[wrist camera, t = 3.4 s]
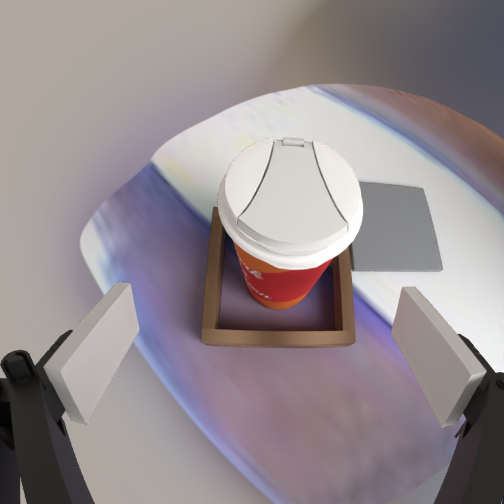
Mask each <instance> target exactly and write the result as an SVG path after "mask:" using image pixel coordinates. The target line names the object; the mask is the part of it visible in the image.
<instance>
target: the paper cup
mask: <svg viewBox="0 0 504 504" xmlns="http://www.w3.org/2000/svg"><path fill="white" fill-rule="evenodd" d="M217 204H218V212H219V216H220V219H221V222H222V224H223V226H224V228H225V230H226V232H227V233H228V235H229V236H230V237H231V238H232V240H233V242H234V245H235V248H236V252H237V255H238V258H239V262H240V265H241V268H242V272H243V275H244V278H245V281H246V284H247V286H248V289H249V291H250V293H251V295H252V296H253V298H254V299H255V300H256V301H257V302H258V303H260V304H261V305H263V306H265V307H267V308H270V309H276V310H281V309H287V308H290V307H292V306H294V305H296V304H298V303H299V302H300V301H301V300H302V299H303V298H304V297H305V296H306V295H307V293H308V292H309V291H310V290H311V288H312V287H313V286H314V284H315V283H316V282H317V280H318V279H319V278H320V276H321V275H322V273H323V272H324V271H325V269H326V268H327V266H328V265H329V264H330V262H331V261H332V259H333V258H334V257H335V256H337V255H339V254H340V253H341V252H342V251H344V250H345V249H346V248H347V247H348V246H349V245H350V244H351V242H352V241H353V240H354V238H355V237H356V235H357V233H358V231H359V229H360V226H361V223H362V217H363V202H362V198H361V190H360V186H359V182H358V179H357V177H356V175H355V172H354V171H353V169H352V168H351V166H350V165H349V163H348V162H347V161H346V160H345V159H344V158H343V157H342V156H341V155H340V154H339V153H337V152H336V151H335V150H333V149H332V148H330V147H328V146H326V145H324V144H322V143H320V142H318V141H315V140H313V141H312V144H311V142H304V140H303V139H295V138H283V140H275V142H273V137H272V138H267V139H264V140H261V141H258V142H256V143H254V144H252V145H250V146H249V147H247V148H246V149H244V150H243V151H242V152H241V153H240V154H239V155H238V156H237V157H236V158H235V159H234V160H233V162H232V163H231V165H230V166H229V169H228V171H227V173H226V175H225V176H224V178H223V180H222V182H221V185H220V188H219V192H218V203H217Z"/></svg>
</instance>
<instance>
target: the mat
mask: <svg viewBox="0 0 504 504" xmlns="http://www.w3.org/2000/svg"><path fill="white" fill-rule="evenodd" d="M359 186H360V190H361V198H362V202H363V217H362V223H361V226H360V229H359V231H358V233H357V235H356V237H355V238H354V240H353V241H352V242H351V244H350V246H351V256H352V266H353V271H441V270H443V267H442V262H441V257H440V252H439V247H438V243H437V238H436V234H435V230H434V226H433V222H432V218H431V215H430V211H429V207H428V204H427V200H426V197H425V193H424V190H423V188H417V187H408V186H399V185H389V184H378V183H366V182H359Z"/></svg>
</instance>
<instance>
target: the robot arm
mask: <svg viewBox="0 0 504 504" xmlns="http://www.w3.org/2000/svg"><path fill="white" fill-rule="evenodd" d="M139 331H140V330H139V325H138V320H137V315H136V310H135V305H134V299H133V294H132V288H131V283H120V282H117V283H116V284H115V285H114V286H113V287H112V288H111V289H110V290H109V291H108V293H107V294H106V295H105V296H104V297H103V298H102V299H101V300H100V301H99V302H98V303H97V305H96V306H95V307H94V308H93V309H92V310H91V311H90V312H89V314H88V315H87V316H86V317H85V318H84V319H83V320H82V322H81V323H80V324H79V325H78V326H77V327H76V328H75V330H69V331H68V332H66V333H64V334H63V335H61V336H60V337H59V339H58V340H57V341H56V342H55V344H53V345H52V346H51V348H50V350H48V351H47V352H46V353H45V355H44V356H43V357H42V358H41V359H40V361H39V362H38V363H37V364H36V365H34V363H33V361H32V359H31V357H30V354H29V353H28V352H26V351H24V350H17V351H13V352H10V353H9V354H7V355H6V356H5V357H4V358H3V359H2V361H1V364H0V366H1V368H2V370H3V372H4V373H5V375H6V377H7V378H6V379H5V378H0V504H20V477H21V481H22V486H23V490H24V494H25V498H26V502H27V504H95V503H94V501H93V499H92V497H91V495H90V492H89V490H88V488H87V485H86V483H85V480H84V478H83V475H82V473H81V470H80V468H79V465H78V463H77V459H76V457H75V454H74V451H73V448H72V445H71V442H70V439H69V436H68V433H67V429H66V426H65V422H64V420H63V419H62V415H63V413H64V412H65V411H66V412H67V414H68V416H69V418H70V419H71V420H72V421H75V422H78V423H82V424H85V425H87V424H88V422H89V420H90V418H91V416H92V414H93V413H94V411H95V409H96V407H97V405H98V403H99V401H100V399H101V398H102V396H103V394H104V392H105V390H106V389H107V387H108V385H109V383H110V381H111V379H112V378H113V376H114V374H115V372H116V371H117V369H118V367H119V365H120V363H121V362H122V360H123V358H124V356H125V355H126V353H127V351H128V350H129V348H130V346H131V344H132V343H133V341H134V339H135V338H136V336H137V334H138V332H139ZM391 335H392V337H393V339H394V340H395V342H396V344H397V345H398V347H399V349H400V351H401V352H402V354H403V356H404V358H405V360H406V361H407V363H408V365H409V367H410V368H411V370H412V372H413V374H414V376H415V378H416V379H417V381H418V383H419V385H420V387H421V389H422V391H423V393H424V395H425V396H426V398H427V400H428V402H429V404H430V406H431V408H432V410H433V412H434V414H435V416H436V418H437V420H438V422H439V424H440V426H441V428H443V427H446V426H450V425H453V424H456V423H457V422H458V420H459V419H460V417H461V415H462V414H464V416H465V417H466V420H465V422H464V423H463V425H462V426H461V428H460V429H459V431H458V432H457V434H456V435H455V438H457V437H458V435H459V434H460V436H459V439H458V442H457V446H456V449H455V452H454V455H453V457H452V460H451V463H450V466H449V468H448V471H447V474H446V476H445V479H444V481H443V484H442V486H441V489H440V491H439V493H438V495H437V497H436V500H435V502H434V504H501V502H502V498H503V502H502V504H504V373H502V372H498V373H495V371H494V370H493V369H492V368H491V366H490V365H489V364H488V362H487V361H486V360H485V359H484V357H483V356H482V355H481V354H479V351H478V350H477V349H476V348H475V347H474V345H473V344H472V343H471V342H470V341H469V340H468V339H467V338H465V337H464V336H463V335H461V334H457V333H456V332H455V331H454V330H453V329H452V327H451V326H450V325H449V324H448V323H447V322H446V320H445V319H444V318H443V317H442V316H441V315H440V314H439V312H438V311H437V310H436V309H435V308H434V307H433V306H432V305H431V303H430V302H429V301H428V300H427V299H426V298H425V297H424V296H423V295H422V294H421V292H420V291H419V290H418V289H417V288H416V287H402V290H401V295H400V299H399V304H398V308H397V312H396V316H395V320H394V324H393V327H392V331H391Z"/></svg>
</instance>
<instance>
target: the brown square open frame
mask: <svg viewBox="0 0 504 504" xmlns="http://www.w3.org/2000/svg"><path fill="white" fill-rule="evenodd" d="M225 237H226V230H225V228H224V226H223V224H222V222H221V219H220V216H219V212H218V207H213V214H212V223H211V232H210V242H209V251H208V261H207V272H206V282H205V294H204V305H203V318H202V331H201V341H202V342H203V343H204V344H205V345H214V346H233V347H262V348H325V347H347V346H350V345H352V344H354V343H355V321H354V303H353V289H352V276H351V265H350V255H349V246H348V247H347V248H346V249H345V250H344V251H342V252H341V253H340V254H339V255H337V256H335V257H334V258H333V259H332V271H333V287H334V307H335V331H247V330H222V329H219V319H220V304H221V289H222V275H223V262H224V249H225Z"/></svg>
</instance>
